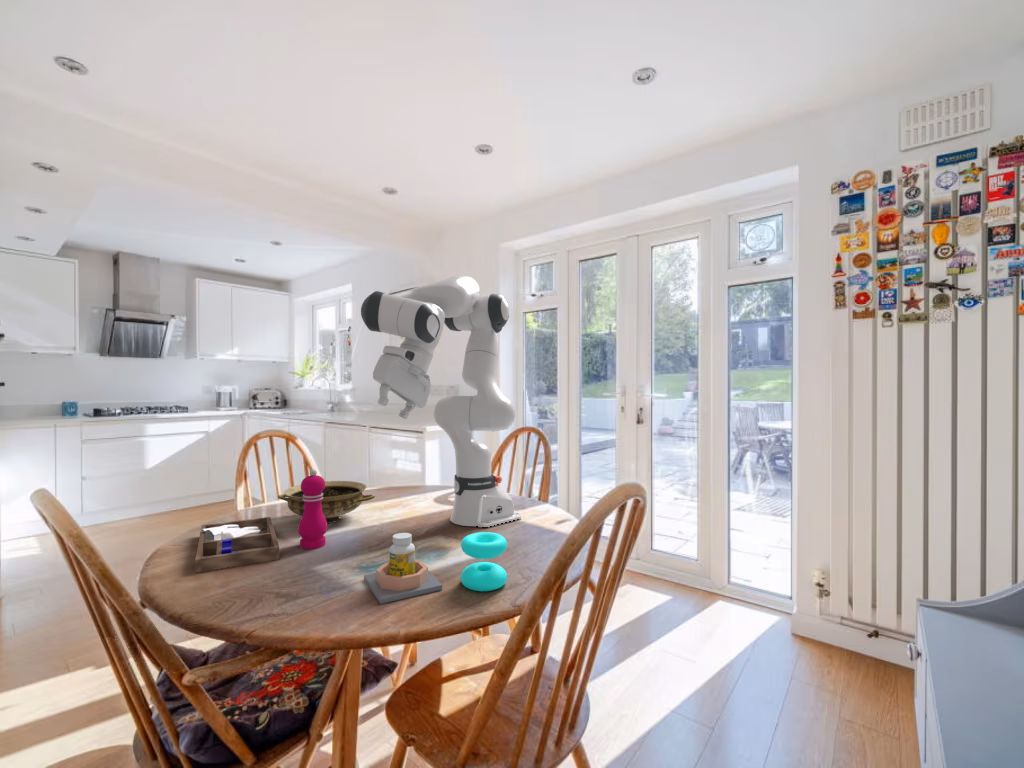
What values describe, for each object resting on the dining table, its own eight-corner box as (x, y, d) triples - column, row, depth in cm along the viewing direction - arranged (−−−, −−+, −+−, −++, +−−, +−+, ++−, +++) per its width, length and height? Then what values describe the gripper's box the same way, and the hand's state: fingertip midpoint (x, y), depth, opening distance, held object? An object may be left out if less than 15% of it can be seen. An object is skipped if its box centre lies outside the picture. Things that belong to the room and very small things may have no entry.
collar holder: (420, 568, 111) (421, 553, 111) (442, 589, 100) (442, 573, 100) (364, 579, 104) (364, 563, 104) (380, 604, 93) (380, 586, 93)
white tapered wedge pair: (229, 551, 121) (268, 539, 131) (230, 535, 121) (269, 524, 131) (200, 544, 126) (240, 533, 136) (200, 528, 126) (240, 518, 136)
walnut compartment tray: (270, 526, 141) (270, 516, 141) (279, 559, 116) (279, 546, 116) (201, 536, 132) (201, 525, 132) (195, 573, 107) (195, 559, 107)
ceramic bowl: (385, 510, 159) (385, 480, 159) (360, 533, 136) (360, 498, 135) (297, 508, 161) (297, 479, 160) (256, 531, 137) (256, 496, 137)
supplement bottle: (419, 577, 104) (420, 533, 103) (405, 587, 99) (405, 541, 98) (398, 573, 106) (399, 530, 105) (383, 582, 101) (384, 537, 100)
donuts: (496, 548, 97) (452, 541, 100) (495, 597, 97) (452, 588, 100) (514, 533, 106) (473, 528, 110) (513, 578, 106) (473, 571, 110)
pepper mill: (316, 551, 121) (317, 472, 121) (291, 548, 123) (292, 471, 123) (332, 541, 128) (333, 467, 128) (308, 539, 130) (309, 466, 130)
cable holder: (238, 564, 113) (238, 547, 113) (221, 567, 111) (221, 550, 111) (238, 553, 120) (238, 537, 120) (221, 555, 118) (222, 539, 118)
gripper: (422, 376, 134) (404, 422, 130) (380, 342, 116) (358, 394, 112) (440, 380, 131) (423, 426, 127) (401, 345, 114) (379, 398, 110)
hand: (392, 411), depth 120 cm, fingers open, 8 cm apart
